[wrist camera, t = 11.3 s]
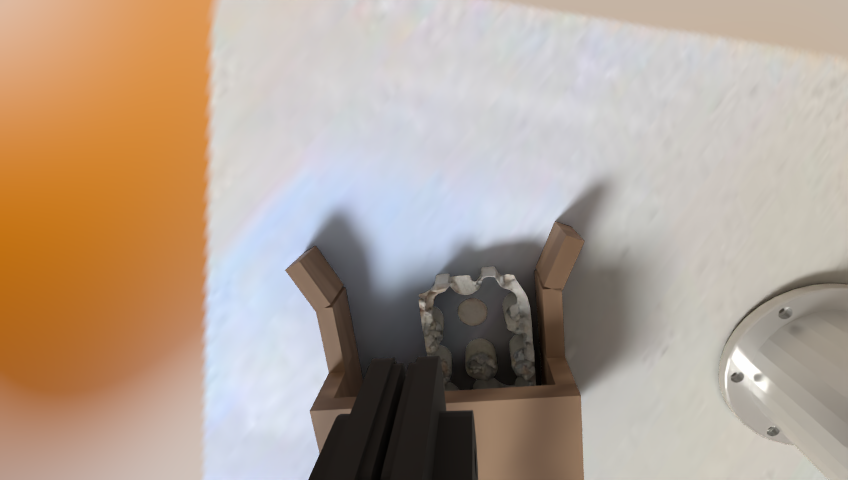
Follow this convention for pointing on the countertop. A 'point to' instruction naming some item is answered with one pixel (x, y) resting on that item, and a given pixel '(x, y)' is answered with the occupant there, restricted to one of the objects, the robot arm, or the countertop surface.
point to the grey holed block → (474, 313)
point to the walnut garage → (493, 408)
